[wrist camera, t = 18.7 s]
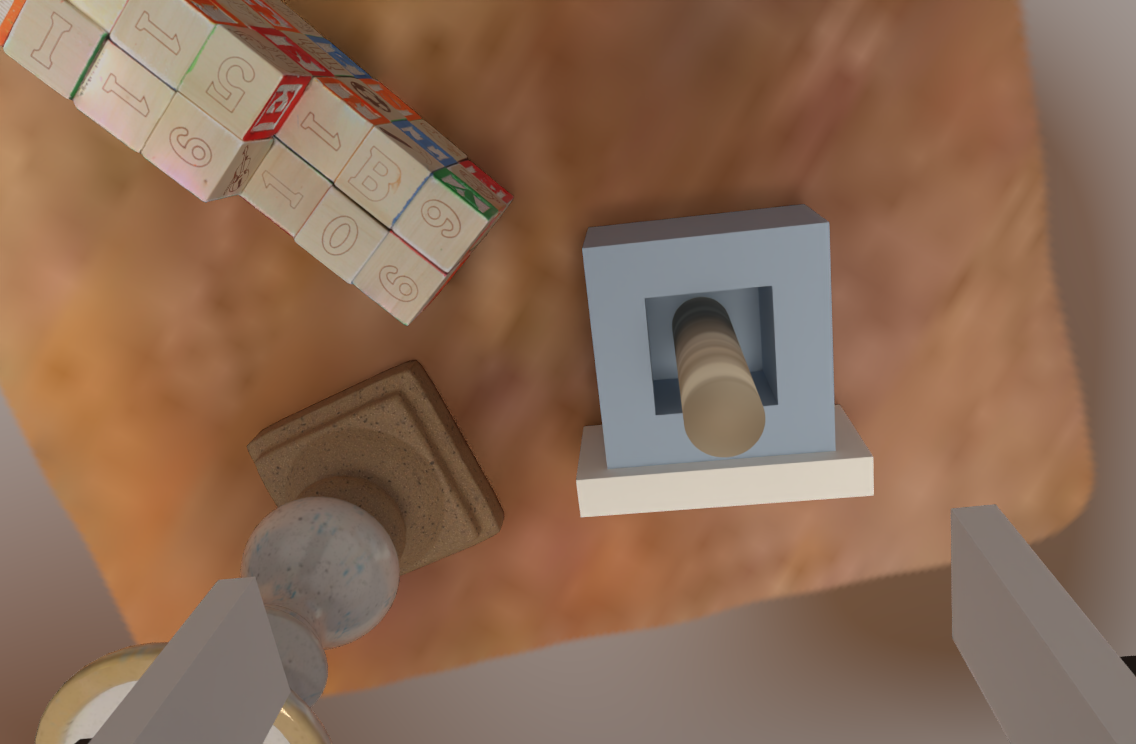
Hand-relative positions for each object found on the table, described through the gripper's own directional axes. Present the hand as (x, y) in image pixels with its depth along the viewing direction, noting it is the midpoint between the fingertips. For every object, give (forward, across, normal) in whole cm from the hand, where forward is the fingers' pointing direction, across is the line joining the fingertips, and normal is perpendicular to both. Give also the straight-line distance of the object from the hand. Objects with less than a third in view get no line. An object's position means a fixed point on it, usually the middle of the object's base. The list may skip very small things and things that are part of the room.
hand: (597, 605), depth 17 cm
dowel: (+30, +4, -4) cm, 31 cm away
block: (+31, +4, -4) cm, 32 cm away
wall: (+31, +4, -12) cm, 34 cm away
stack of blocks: (+32, -14, +10) cm, 36 cm away
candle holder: (+31, -15, -11) cm, 36 cm away
